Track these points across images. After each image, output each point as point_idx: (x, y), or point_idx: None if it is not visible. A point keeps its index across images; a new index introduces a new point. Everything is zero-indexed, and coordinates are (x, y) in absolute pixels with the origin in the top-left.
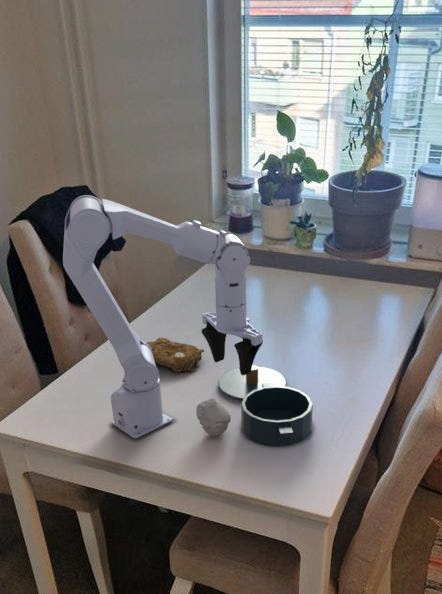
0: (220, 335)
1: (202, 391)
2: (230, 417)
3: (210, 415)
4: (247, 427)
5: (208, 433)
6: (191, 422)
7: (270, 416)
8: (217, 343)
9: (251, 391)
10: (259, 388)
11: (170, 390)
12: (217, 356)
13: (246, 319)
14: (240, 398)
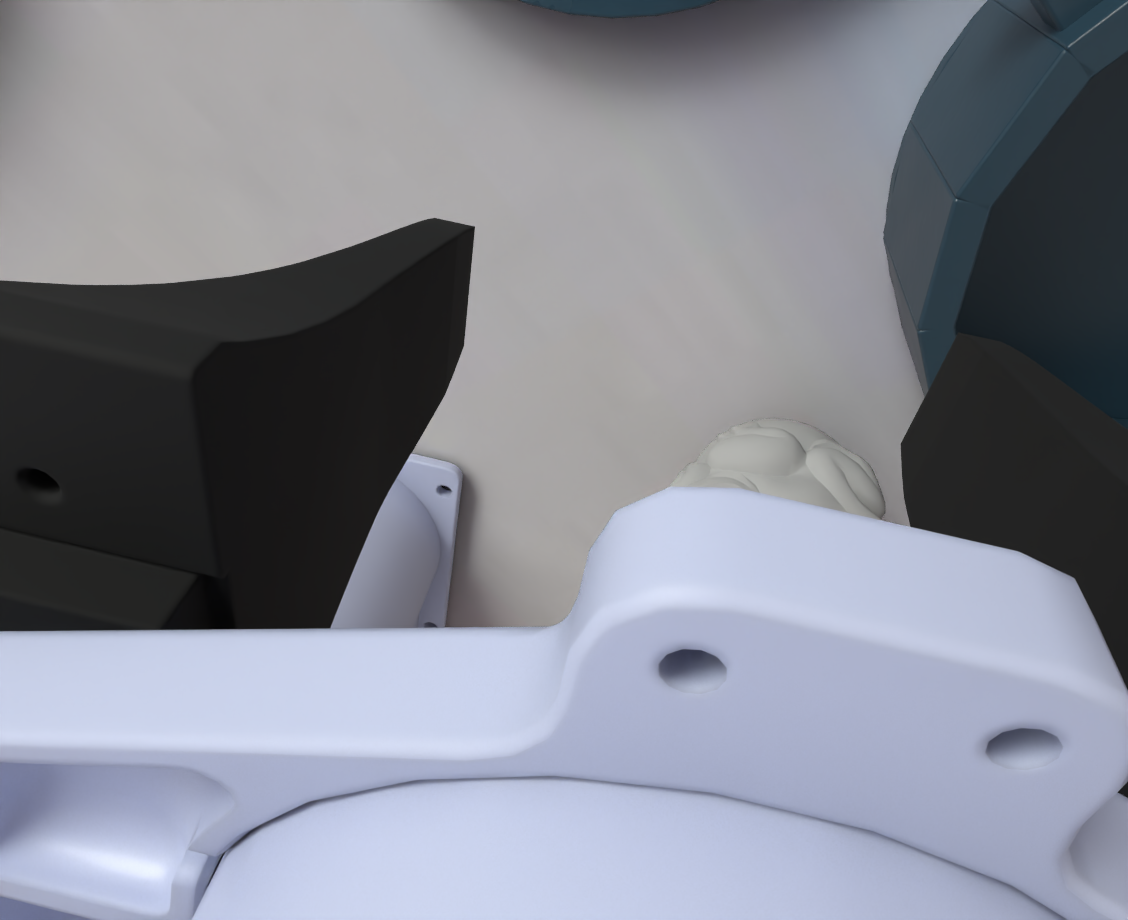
0: (312, 481)
1: (310, 33)
2: (883, 501)
3: None
4: None
5: None
6: (559, 423)
7: (1108, 96)
8: (364, 461)
9: (951, 222)
10: (1021, 114)
11: (133, 171)
12: (442, 367)
13: (1016, 806)
14: (705, 3)
